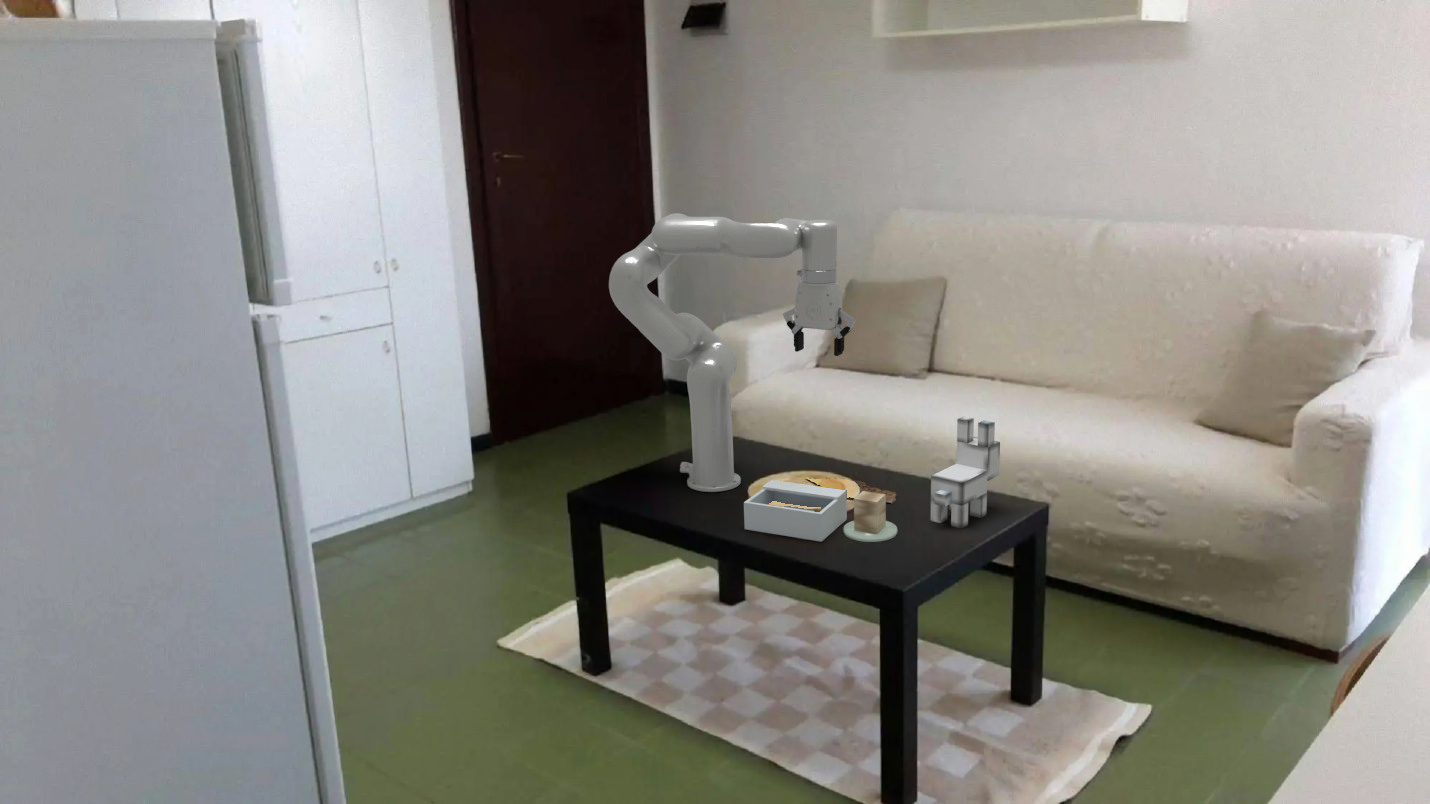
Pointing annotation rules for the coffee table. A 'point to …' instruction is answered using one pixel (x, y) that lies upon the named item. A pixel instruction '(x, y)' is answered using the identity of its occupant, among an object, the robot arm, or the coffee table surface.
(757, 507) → the box
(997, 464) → the toy llama
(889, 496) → the wooden fragment
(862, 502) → the maple block
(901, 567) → the coffee table surface
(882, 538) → the sage saucer
